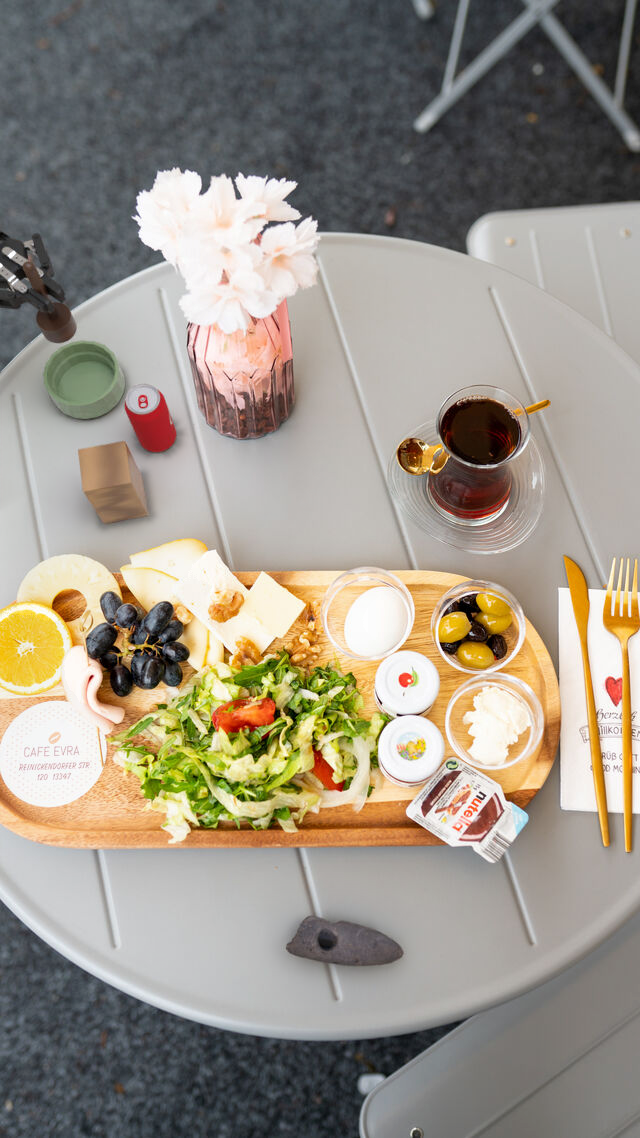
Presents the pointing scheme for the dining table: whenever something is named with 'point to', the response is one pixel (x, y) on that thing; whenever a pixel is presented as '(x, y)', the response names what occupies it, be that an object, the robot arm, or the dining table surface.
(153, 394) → the beverage can
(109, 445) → the wooden square block
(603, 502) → the dining table surface
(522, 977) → the dining table surface
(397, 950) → the perforated stone tool
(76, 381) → the bowl
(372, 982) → the dining table surface
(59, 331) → the brown handled round part
